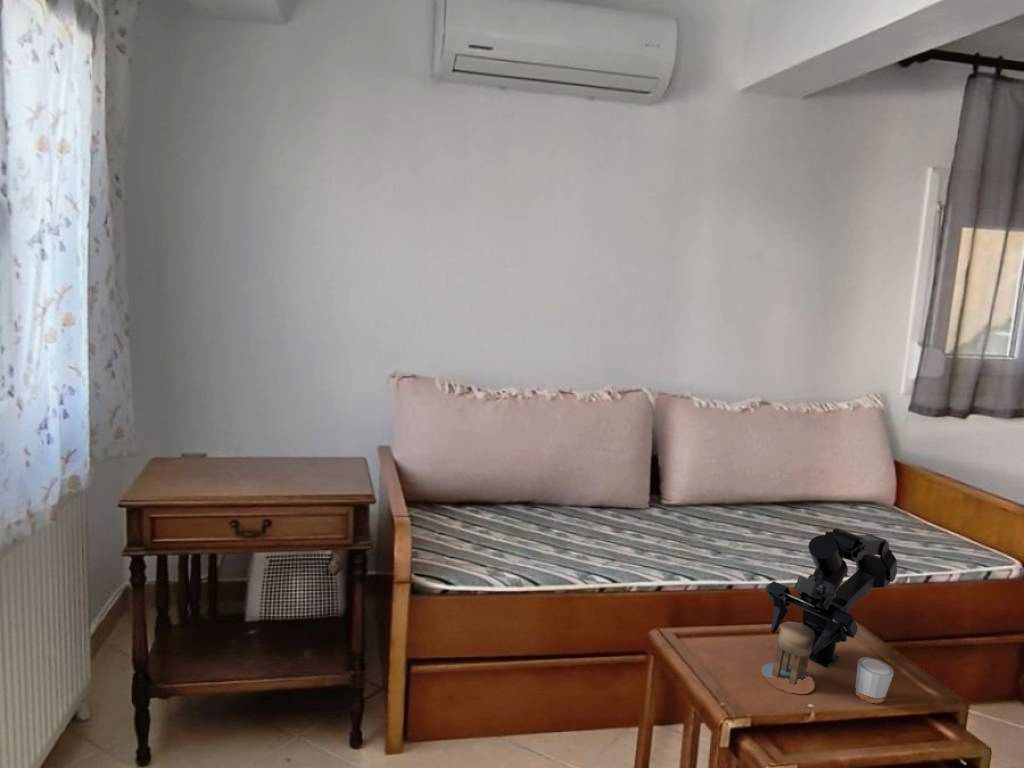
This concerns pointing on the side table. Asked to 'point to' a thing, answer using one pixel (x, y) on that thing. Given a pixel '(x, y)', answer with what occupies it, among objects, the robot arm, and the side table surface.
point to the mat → (768, 670)
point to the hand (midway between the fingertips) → (792, 642)
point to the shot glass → (873, 677)
